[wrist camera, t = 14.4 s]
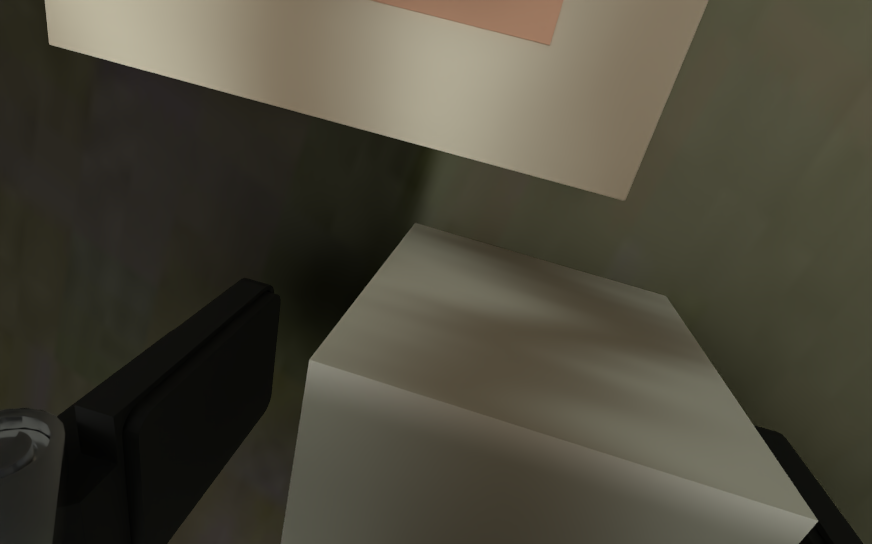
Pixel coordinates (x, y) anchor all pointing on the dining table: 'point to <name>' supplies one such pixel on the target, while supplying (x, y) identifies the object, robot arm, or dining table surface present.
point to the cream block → (524, 415)
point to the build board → (424, 69)
